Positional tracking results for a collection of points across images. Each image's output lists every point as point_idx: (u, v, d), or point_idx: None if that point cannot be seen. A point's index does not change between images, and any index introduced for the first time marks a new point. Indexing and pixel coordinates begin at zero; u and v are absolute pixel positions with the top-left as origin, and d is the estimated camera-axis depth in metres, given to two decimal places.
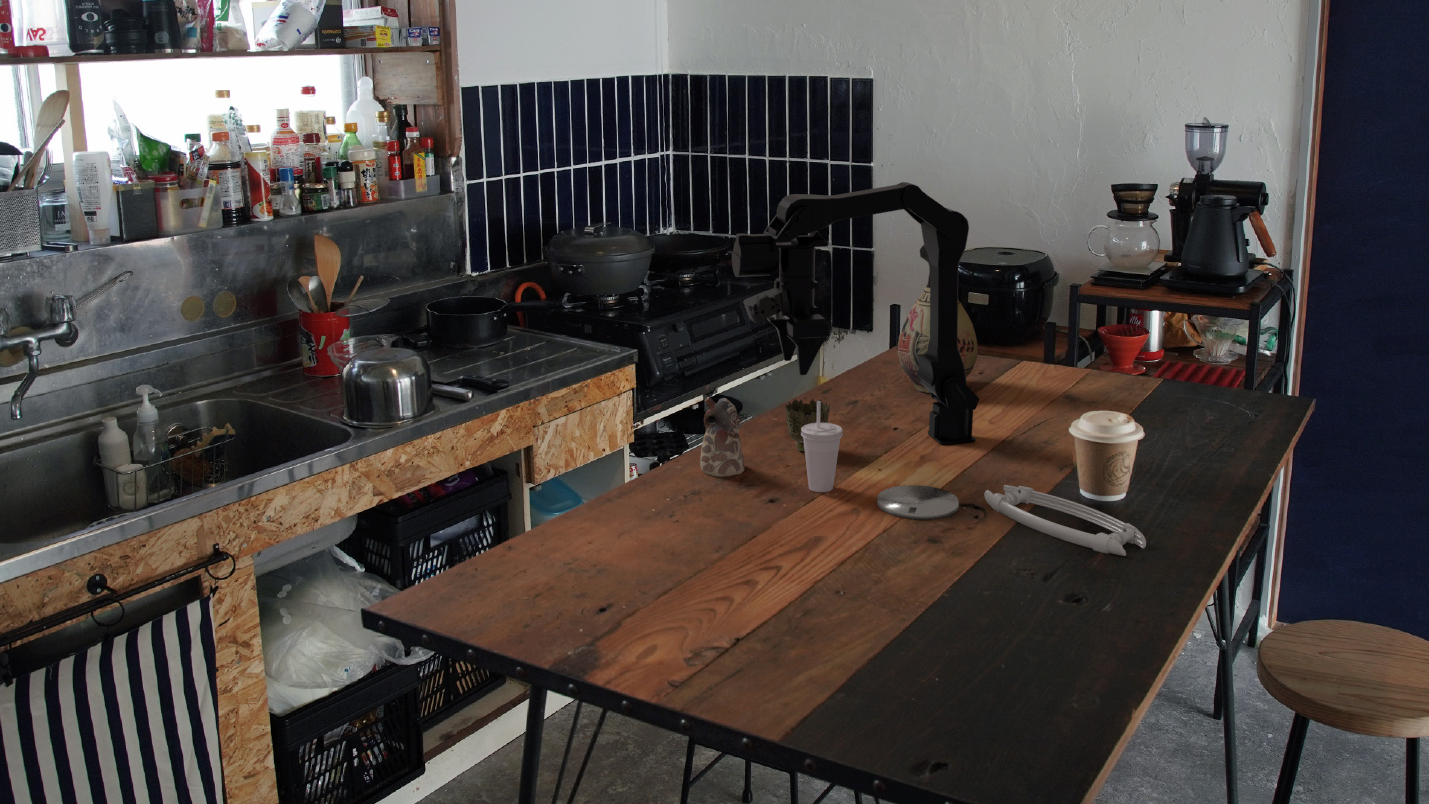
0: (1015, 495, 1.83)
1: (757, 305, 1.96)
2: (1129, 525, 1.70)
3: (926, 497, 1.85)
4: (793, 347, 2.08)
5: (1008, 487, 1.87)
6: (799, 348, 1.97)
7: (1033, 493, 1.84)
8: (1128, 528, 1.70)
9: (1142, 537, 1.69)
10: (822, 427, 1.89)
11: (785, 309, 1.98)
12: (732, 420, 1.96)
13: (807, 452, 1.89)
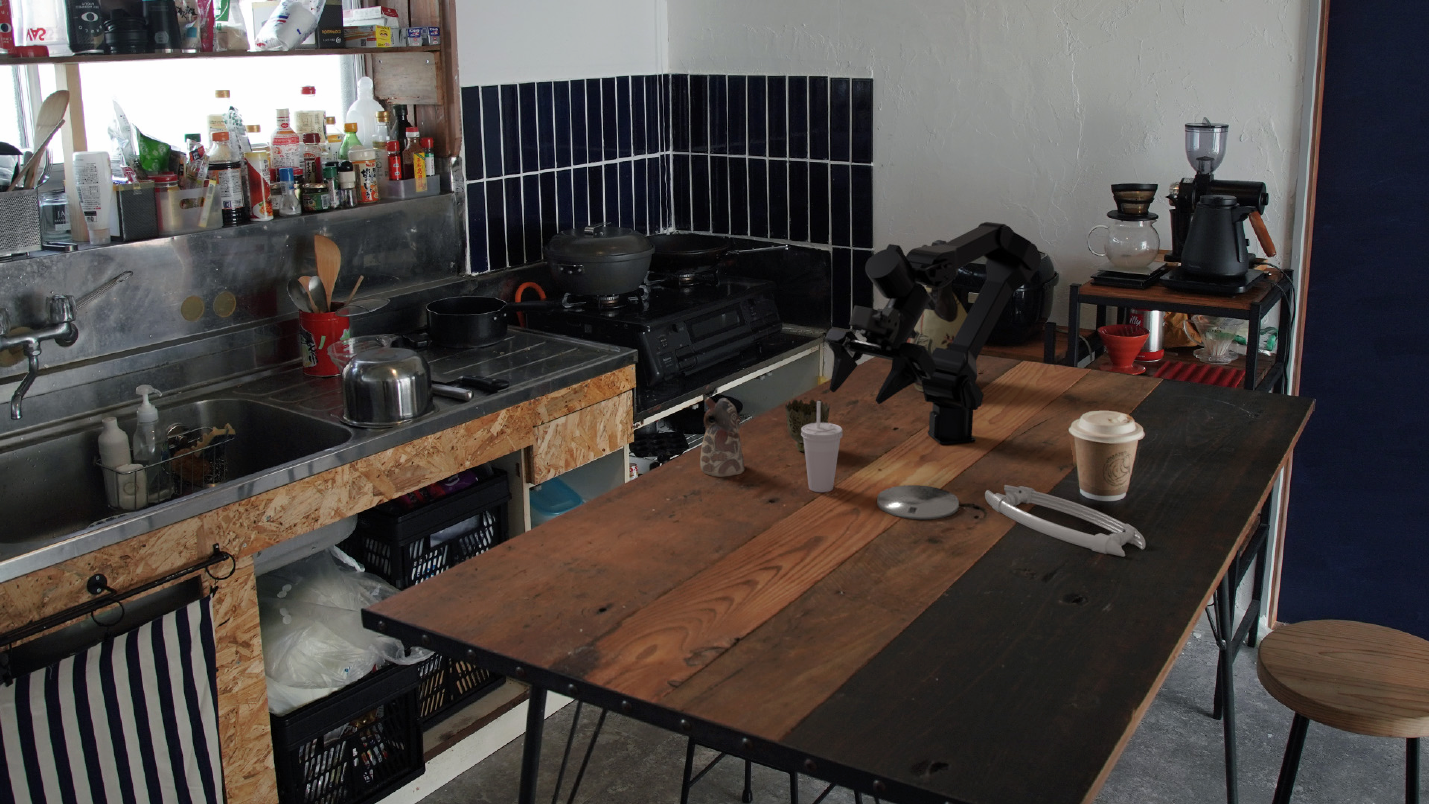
0: (1015, 495, 1.83)
1: (885, 312, 1.89)
2: (1129, 526, 1.70)
3: (926, 497, 1.85)
4: (841, 382, 1.97)
5: (1009, 487, 1.87)
6: (897, 374, 1.89)
7: (1034, 493, 1.84)
8: (1128, 529, 1.70)
9: (1141, 538, 1.69)
10: (822, 427, 1.89)
11: (893, 335, 1.92)
12: (732, 420, 1.96)
13: (807, 452, 1.89)
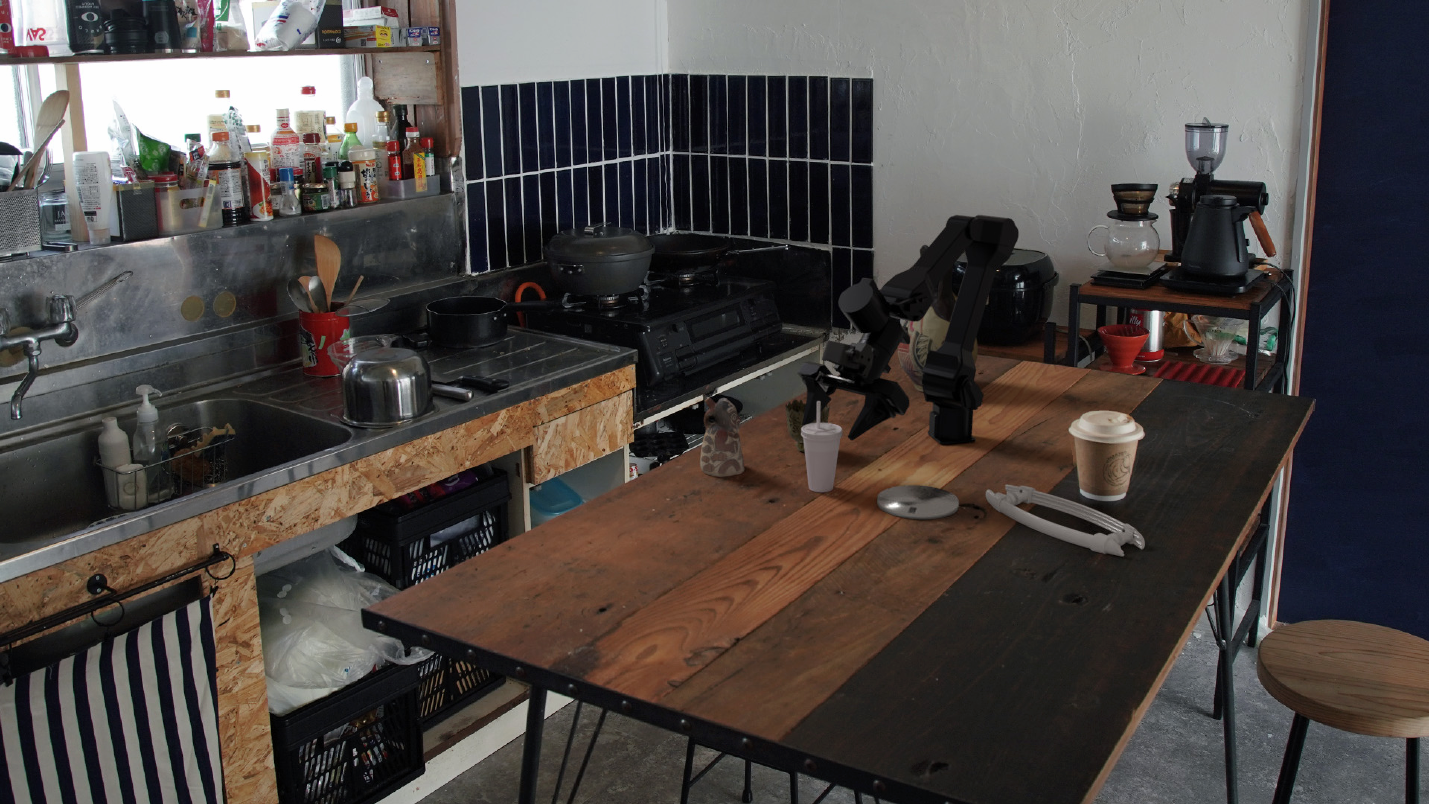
0: (1016, 495, 1.84)
1: (858, 348, 1.86)
2: (1128, 526, 1.70)
3: (926, 497, 1.85)
4: (814, 417, 1.94)
5: (1010, 487, 1.87)
6: (870, 410, 1.86)
7: (1034, 493, 1.84)
8: (1127, 529, 1.70)
9: (1141, 538, 1.68)
10: (822, 427, 1.89)
11: (866, 370, 1.89)
12: (732, 420, 1.96)
13: (807, 452, 1.89)
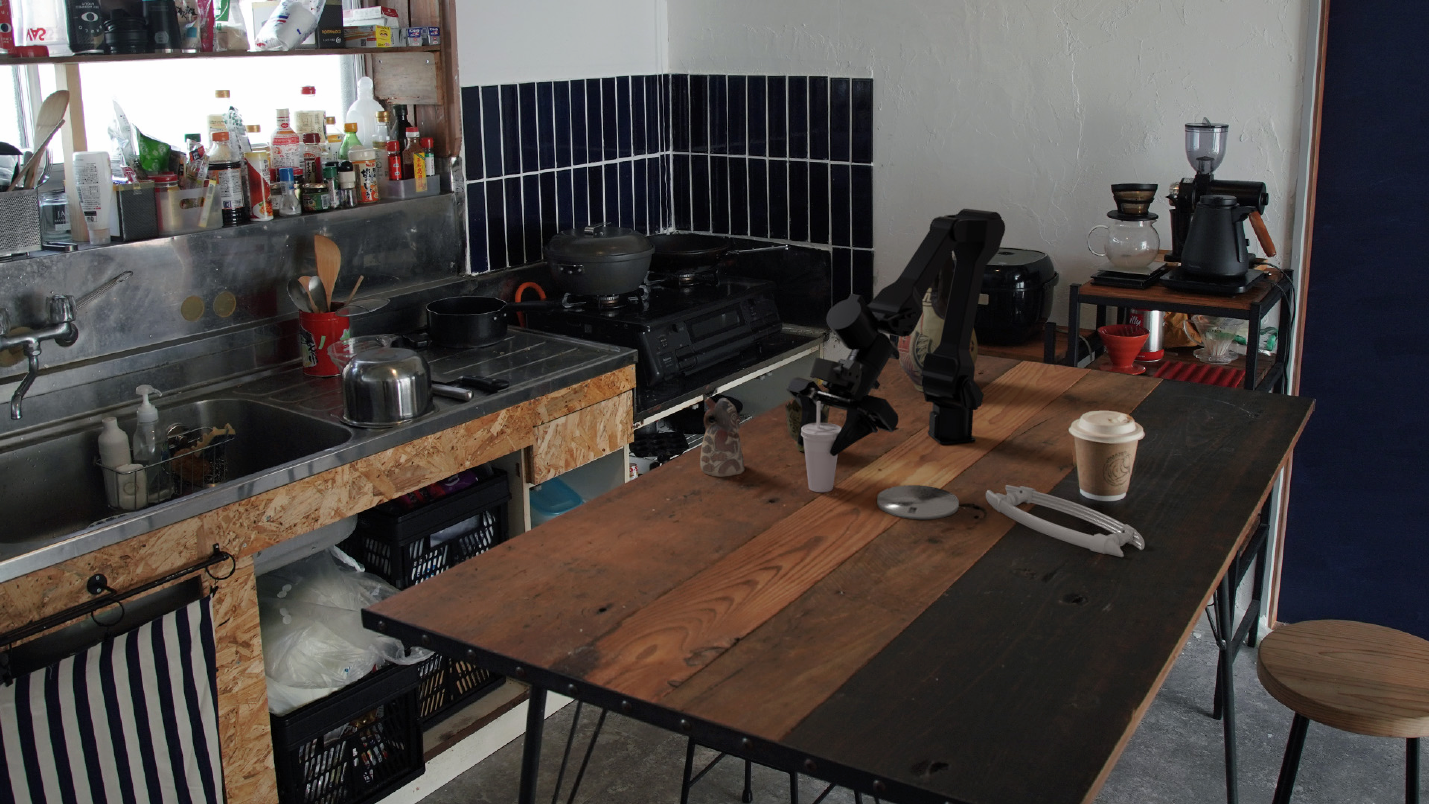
0: (1016, 495, 1.84)
1: (846, 365, 1.85)
2: (1128, 526, 1.70)
3: (926, 497, 1.85)
4: None
5: (1010, 487, 1.87)
6: (852, 426, 1.86)
7: (1034, 493, 1.85)
8: (1127, 529, 1.70)
9: (1140, 538, 1.68)
10: (822, 427, 1.89)
11: (855, 387, 1.88)
12: (732, 420, 1.96)
13: (807, 452, 1.89)
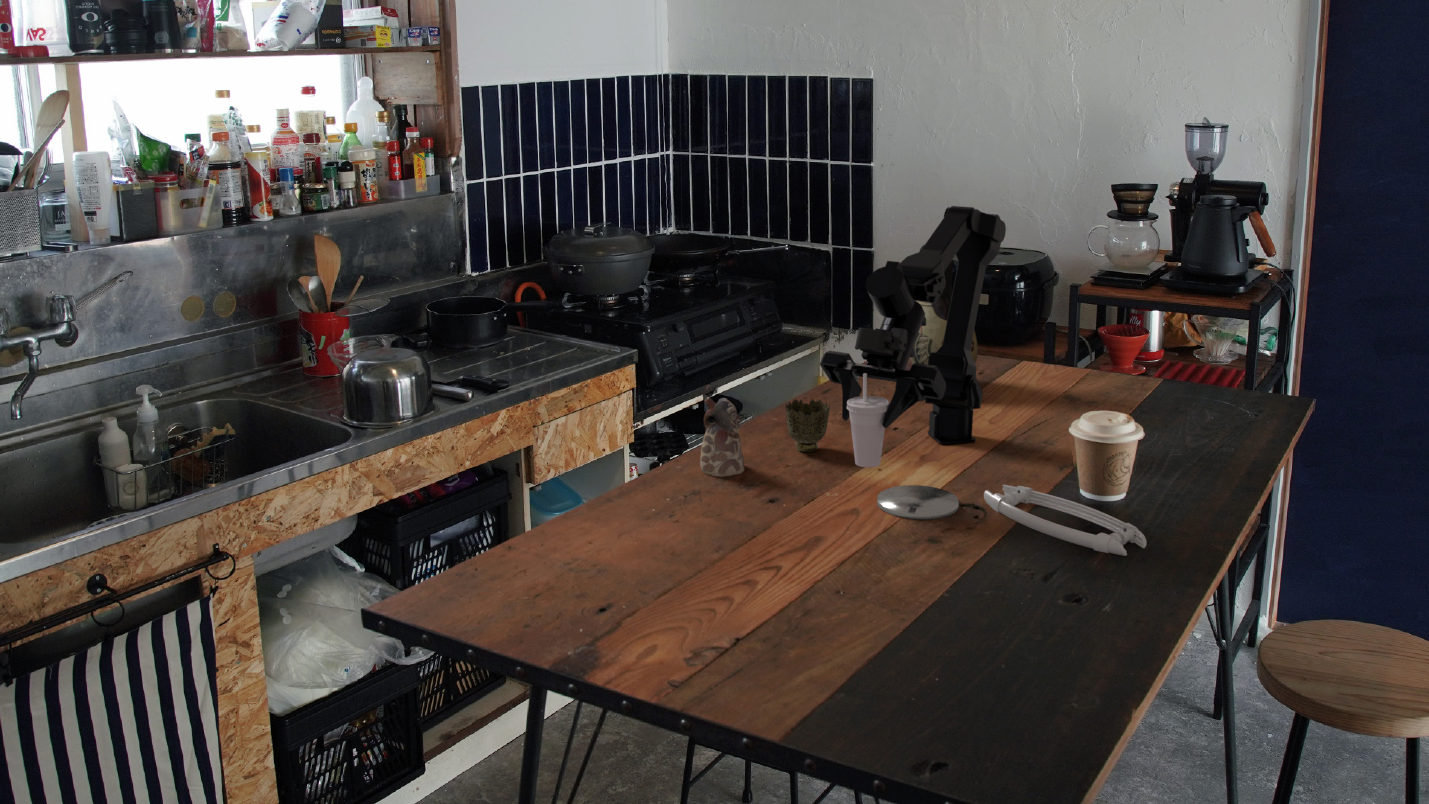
0: (1014, 495, 1.83)
1: (895, 334, 1.80)
2: (1129, 525, 1.71)
3: (926, 497, 1.85)
4: None
5: (1007, 487, 1.87)
6: (903, 395, 1.81)
7: (1032, 493, 1.84)
8: (1128, 528, 1.70)
9: (1142, 537, 1.69)
10: (868, 400, 1.83)
11: (899, 356, 1.83)
12: (732, 420, 1.96)
13: (856, 426, 1.83)
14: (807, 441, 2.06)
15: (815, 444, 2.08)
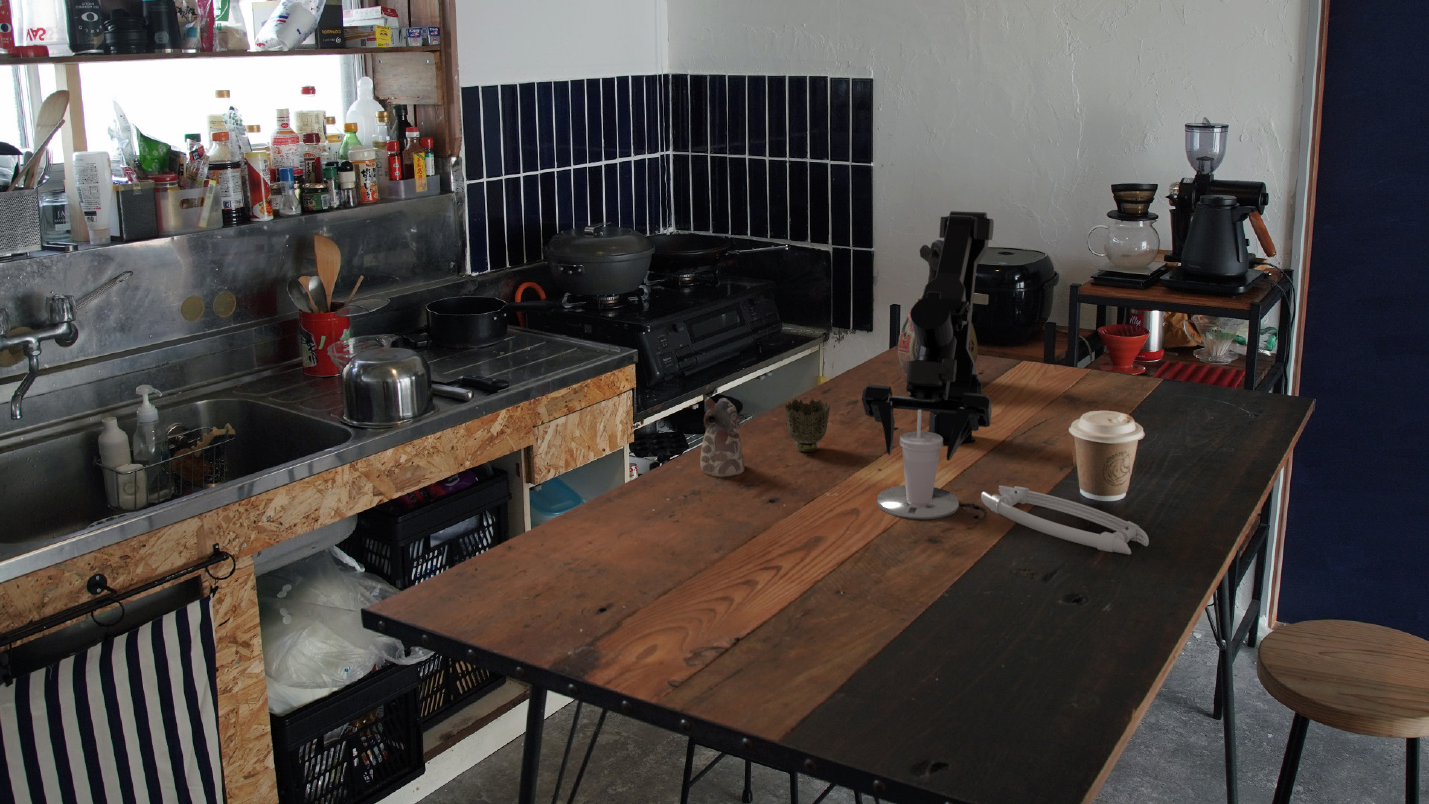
0: (1012, 496, 1.83)
1: (948, 364, 1.79)
2: (1131, 523, 1.71)
3: None
4: (892, 442, 1.84)
5: (1003, 488, 1.86)
6: (963, 426, 1.80)
7: (1029, 493, 1.84)
8: (1130, 526, 1.71)
9: (1145, 535, 1.70)
10: (921, 436, 1.82)
11: (946, 386, 1.83)
12: (732, 420, 1.96)
13: (913, 464, 1.81)
14: (807, 441, 2.06)
15: (815, 444, 2.08)
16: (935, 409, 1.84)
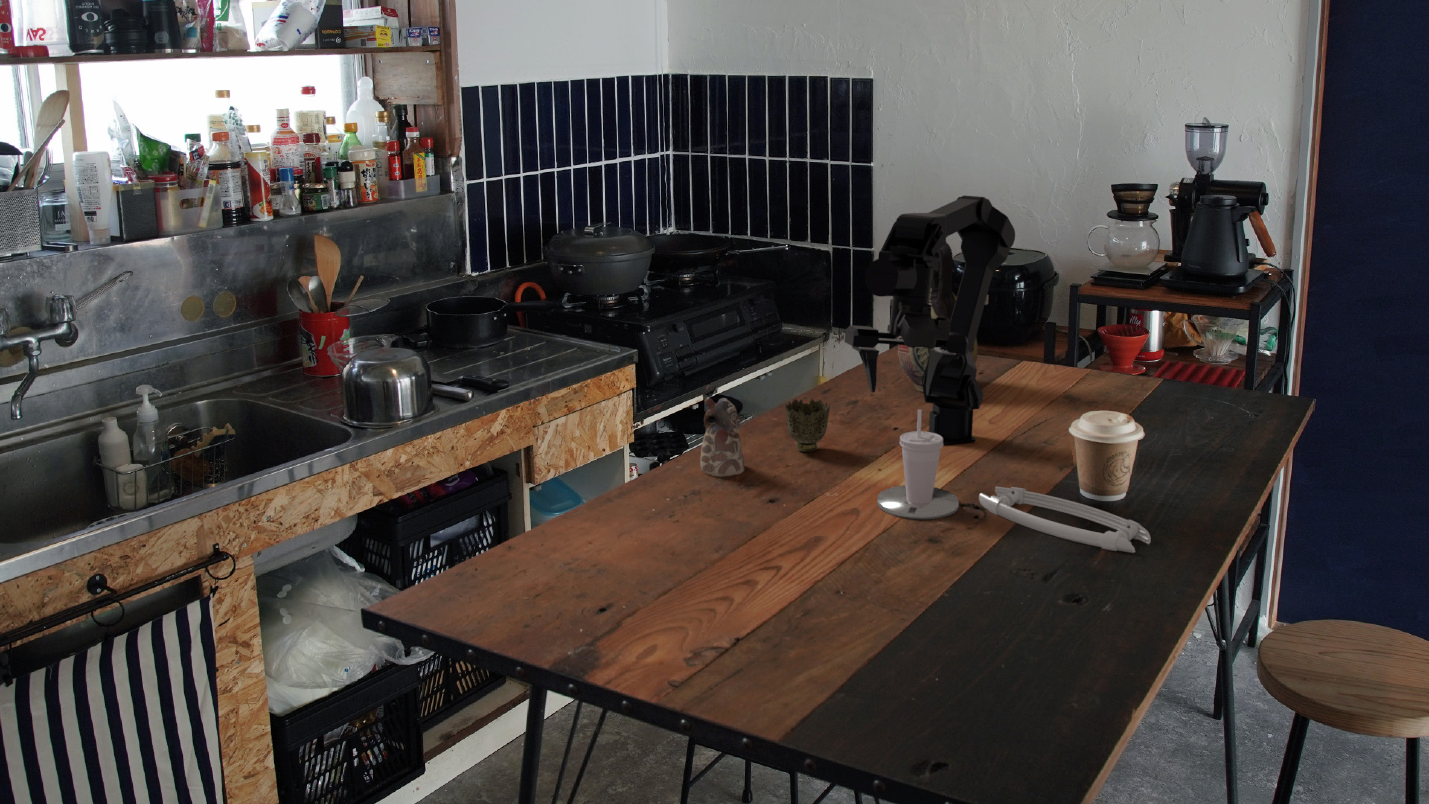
0: (1010, 496, 1.83)
1: (944, 328, 1.88)
2: (1132, 521, 1.72)
3: None
4: None
5: (1000, 489, 1.86)
6: (944, 366, 1.96)
7: (1026, 493, 1.84)
8: (1131, 524, 1.72)
9: (1147, 533, 1.70)
10: (921, 436, 1.82)
11: None
12: (732, 420, 1.96)
13: (913, 463, 1.81)
14: (807, 441, 2.06)
15: (815, 444, 2.08)
16: None
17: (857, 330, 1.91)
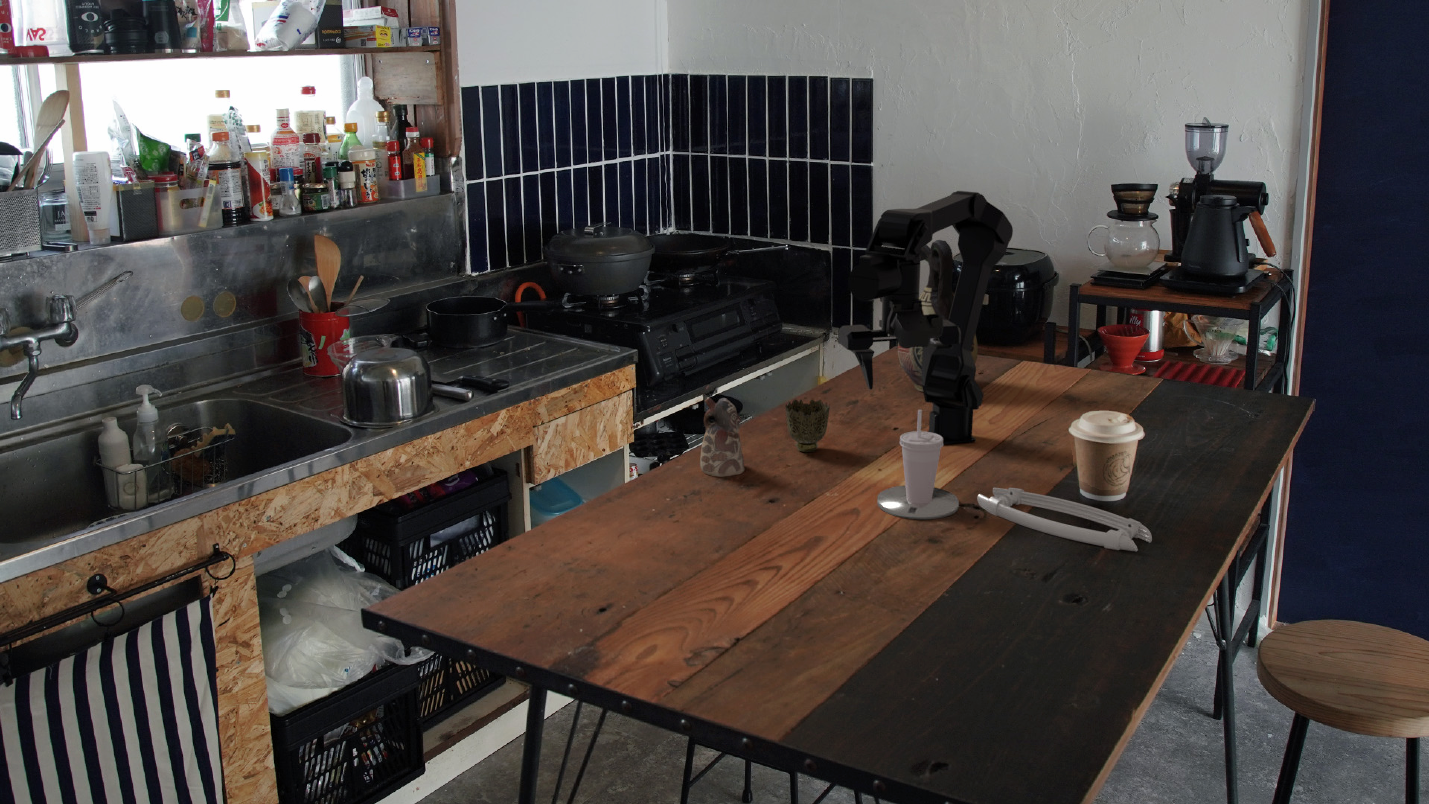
0: (1008, 497, 1.83)
1: (937, 326, 1.89)
2: (1133, 520, 1.72)
3: None
4: None
5: (997, 489, 1.86)
6: (938, 357, 1.97)
7: (1024, 494, 1.84)
8: (1132, 523, 1.72)
9: (1148, 531, 1.71)
10: (921, 436, 1.82)
11: None
12: (732, 420, 1.96)
13: (913, 463, 1.81)
14: (807, 441, 2.06)
15: (815, 444, 2.08)
16: None
17: (851, 333, 1.92)
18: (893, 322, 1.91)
